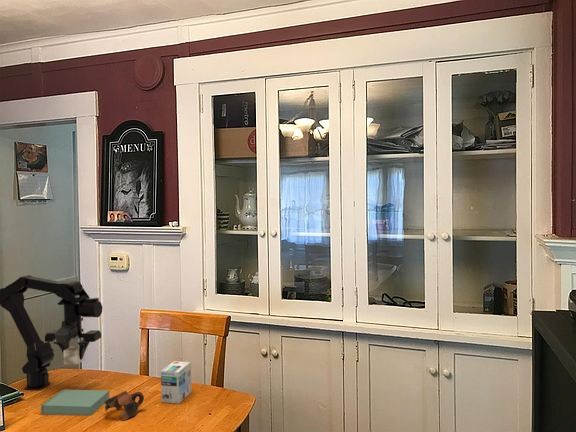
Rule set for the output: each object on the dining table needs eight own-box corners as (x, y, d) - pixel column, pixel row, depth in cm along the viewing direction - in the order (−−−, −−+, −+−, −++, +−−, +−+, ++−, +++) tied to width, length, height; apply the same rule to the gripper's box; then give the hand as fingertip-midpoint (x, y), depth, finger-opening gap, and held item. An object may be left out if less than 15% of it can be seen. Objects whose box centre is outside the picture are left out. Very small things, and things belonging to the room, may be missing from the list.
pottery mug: (114, 426, 149) (103, 401, 151) (110, 428, 157) (100, 404, 158) (151, 406, 156) (140, 382, 157) (145, 409, 163) (135, 386, 165)
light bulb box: (179, 404, 163) (178, 372, 163) (160, 402, 165) (159, 371, 164) (192, 391, 174) (191, 361, 173) (174, 390, 175) (173, 360, 175)
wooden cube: (63, 364, 176) (63, 350, 176) (71, 359, 181) (70, 346, 181) (77, 364, 176) (76, 350, 176) (84, 360, 181) (83, 346, 181)
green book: (41, 415, 157) (41, 405, 157) (63, 398, 170) (63, 389, 170) (90, 416, 156) (90, 406, 156) (109, 399, 169) (109, 390, 169)
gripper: (34, 322, 171) (36, 366, 171) (86, 322, 169) (87, 367, 170) (52, 314, 182) (54, 356, 182) (101, 314, 180) (102, 356, 181)
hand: (74, 359), depth 178 cm, fingers closed on wooden cube, 5 cm apart
